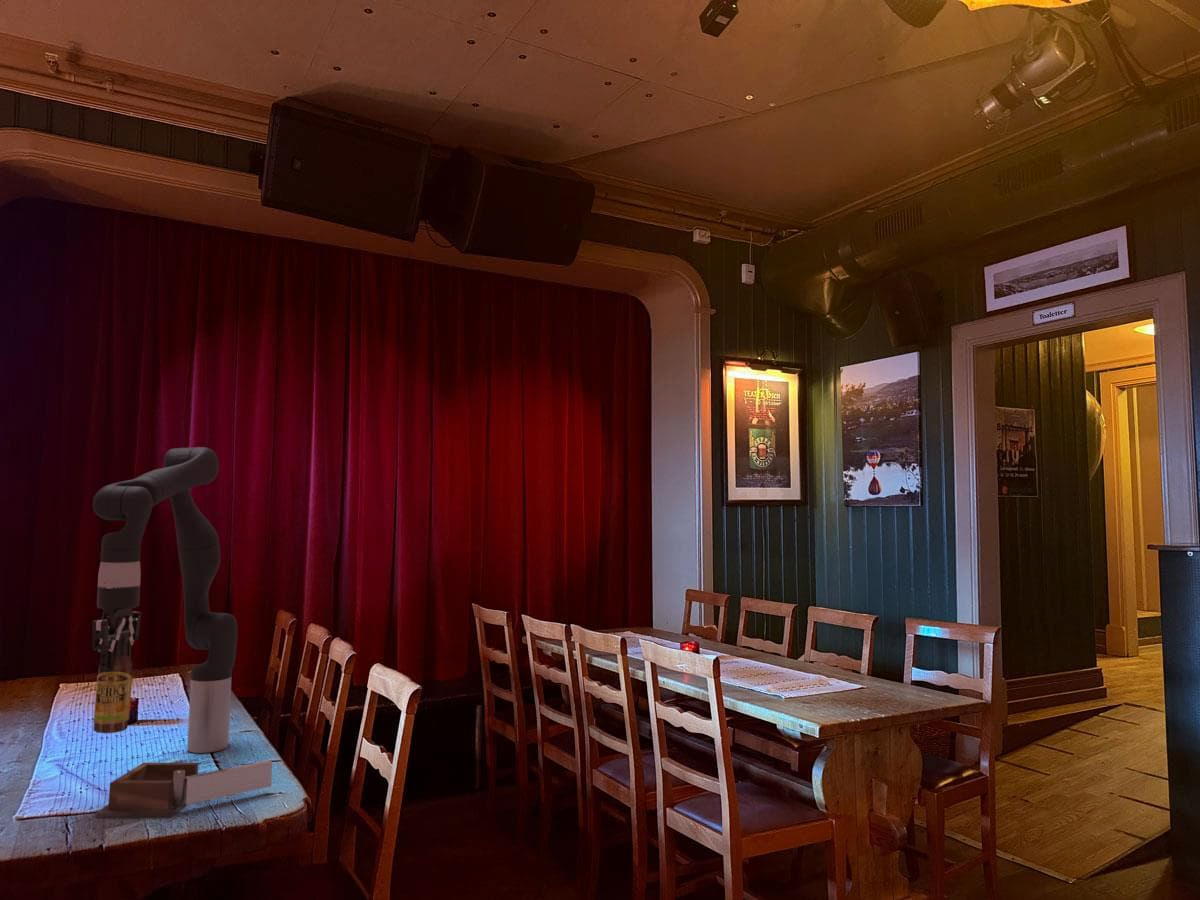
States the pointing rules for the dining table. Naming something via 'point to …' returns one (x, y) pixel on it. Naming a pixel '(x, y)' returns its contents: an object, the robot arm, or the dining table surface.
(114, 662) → the sauce bottle
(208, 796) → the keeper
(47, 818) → the dining table surface
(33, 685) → the dining table surface
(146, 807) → the cradle
